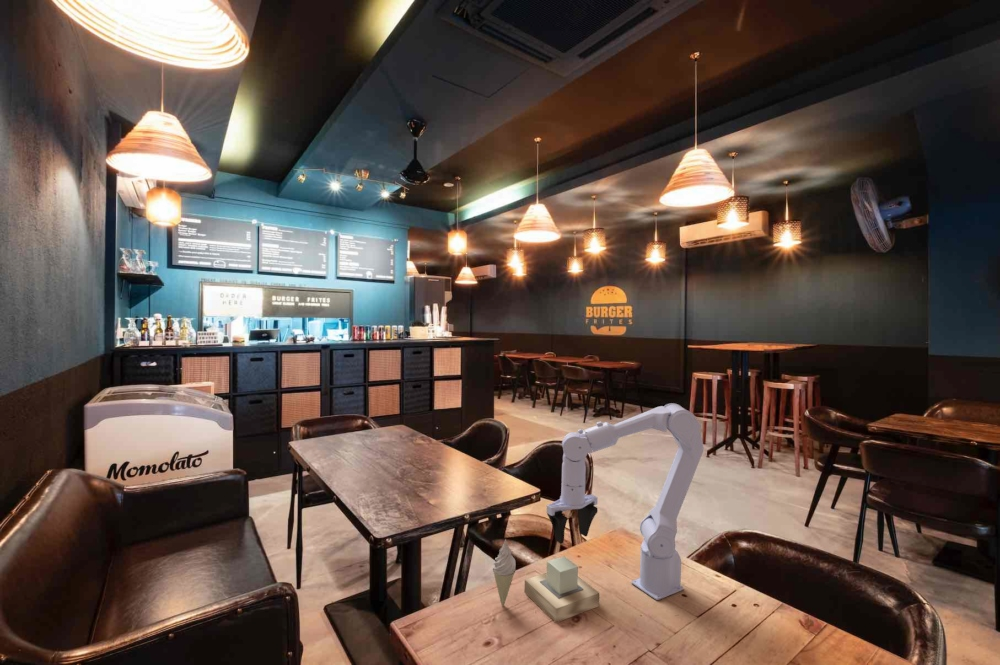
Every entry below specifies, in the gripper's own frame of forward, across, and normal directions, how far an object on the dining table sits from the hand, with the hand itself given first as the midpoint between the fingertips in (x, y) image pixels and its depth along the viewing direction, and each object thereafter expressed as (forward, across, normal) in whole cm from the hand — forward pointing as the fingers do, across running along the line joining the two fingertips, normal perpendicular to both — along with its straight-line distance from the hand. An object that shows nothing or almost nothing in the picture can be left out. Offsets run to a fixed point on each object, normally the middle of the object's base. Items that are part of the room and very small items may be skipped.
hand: (571, 538), depth 110 cm
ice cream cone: (+10, +20, +1) cm, 23 cm away
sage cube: (+7, +7, +5) cm, 11 cm away
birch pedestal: (+10, +7, +5) cm, 13 cm away
